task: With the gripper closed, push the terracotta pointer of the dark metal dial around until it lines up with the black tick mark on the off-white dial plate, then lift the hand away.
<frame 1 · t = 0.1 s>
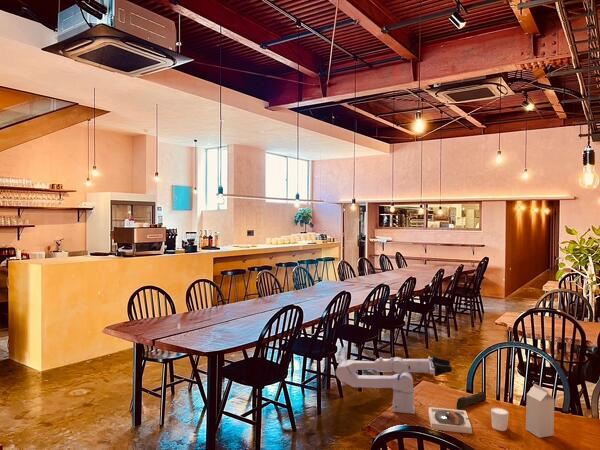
hand: (450, 365, 194), 22 cm above the table, tool horizontal, fingers open, 7 cm apart
dial plate: (449, 422, 188), on the table
milk carton: (539, 433, 179), on the table
dial: (449, 414, 187), point 3 cm above the table, hinge at -70.0°
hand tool: (471, 405, 205), on the table
white cylinder: (499, 427, 183), on the table
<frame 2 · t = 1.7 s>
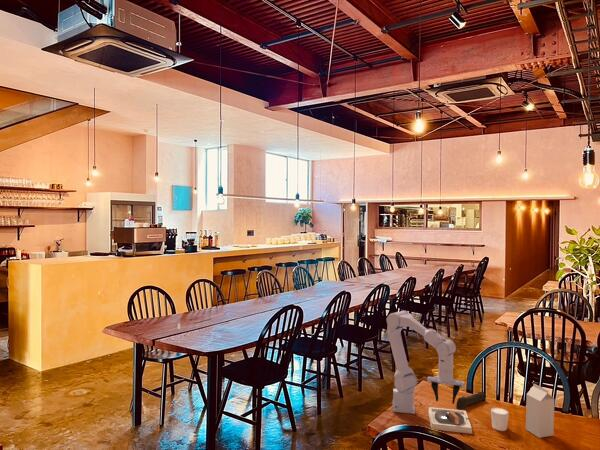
hand: (445, 401, 184), 10 cm above the table, tool pointing down, fingers open, 6 cm apart
nothing on the table moved.
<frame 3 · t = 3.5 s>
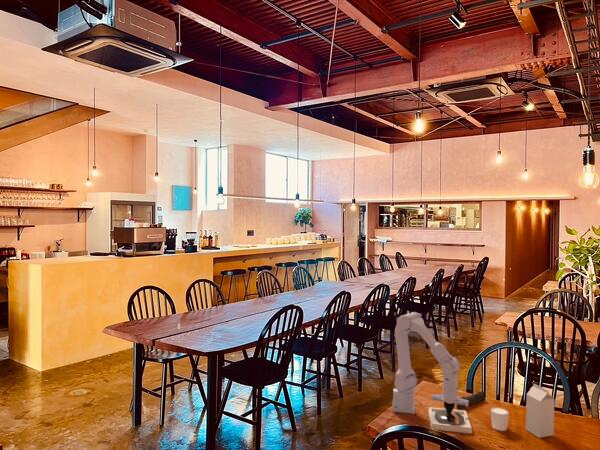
hand: (449, 419, 184), 3 cm above the table, tool pointing down, fingers closed, pressing on dial
dial: (449, 414, 187), point 3 cm above the table, hinge at -69.2°, touching gripper
everything else where it was.
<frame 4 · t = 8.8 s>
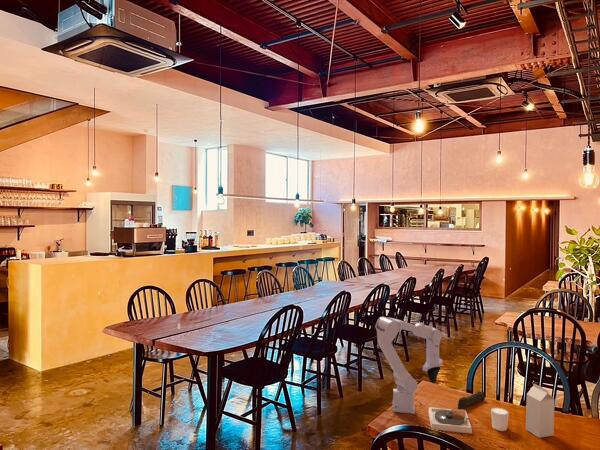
hand: (432, 382, 204), 10 cm above the table, tool pointing down, fingers closed
dial: (449, 414, 187), point 3 cm above the table, hinge at 7.5°
everything else where it was.
at the end: dial at +8° (first picture: -70°) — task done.
